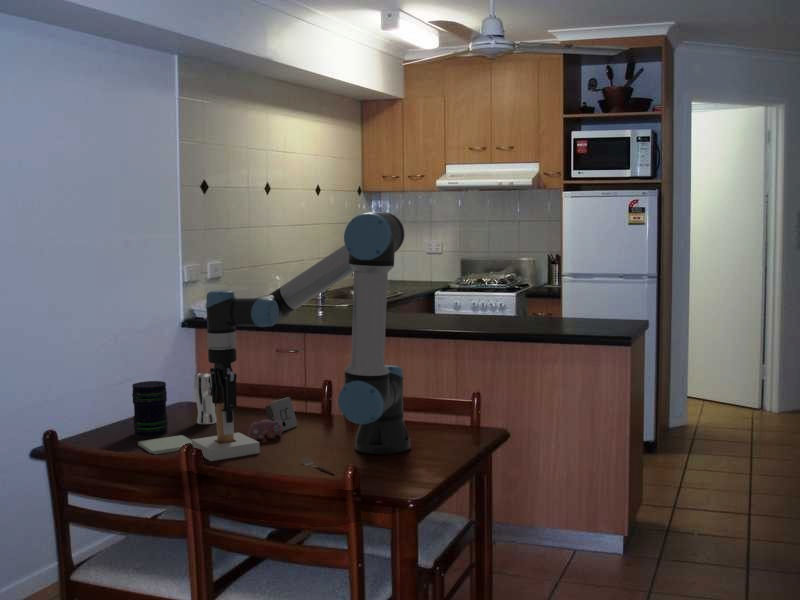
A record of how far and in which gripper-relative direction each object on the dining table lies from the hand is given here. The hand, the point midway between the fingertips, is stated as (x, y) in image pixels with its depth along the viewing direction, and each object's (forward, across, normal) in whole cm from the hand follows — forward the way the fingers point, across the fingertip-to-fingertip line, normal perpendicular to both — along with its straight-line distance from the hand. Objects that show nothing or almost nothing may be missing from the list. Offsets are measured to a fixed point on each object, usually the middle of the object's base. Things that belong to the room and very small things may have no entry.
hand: (225, 432), depth 256 cm
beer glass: (+6, +37, -8) cm, 39 cm away
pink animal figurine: (+6, +8, -15) cm, 18 cm away
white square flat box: (+5, 0, 0) cm, 5 cm away
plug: (+4, 0, 0) cm, 4 cm away
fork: (+6, -30, -13) cm, 33 cm away
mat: (+5, +15, +11) cm, 20 cm away
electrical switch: (+6, +16, -24) cm, 29 cm away
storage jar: (+6, +33, +11) cm, 35 cm away
